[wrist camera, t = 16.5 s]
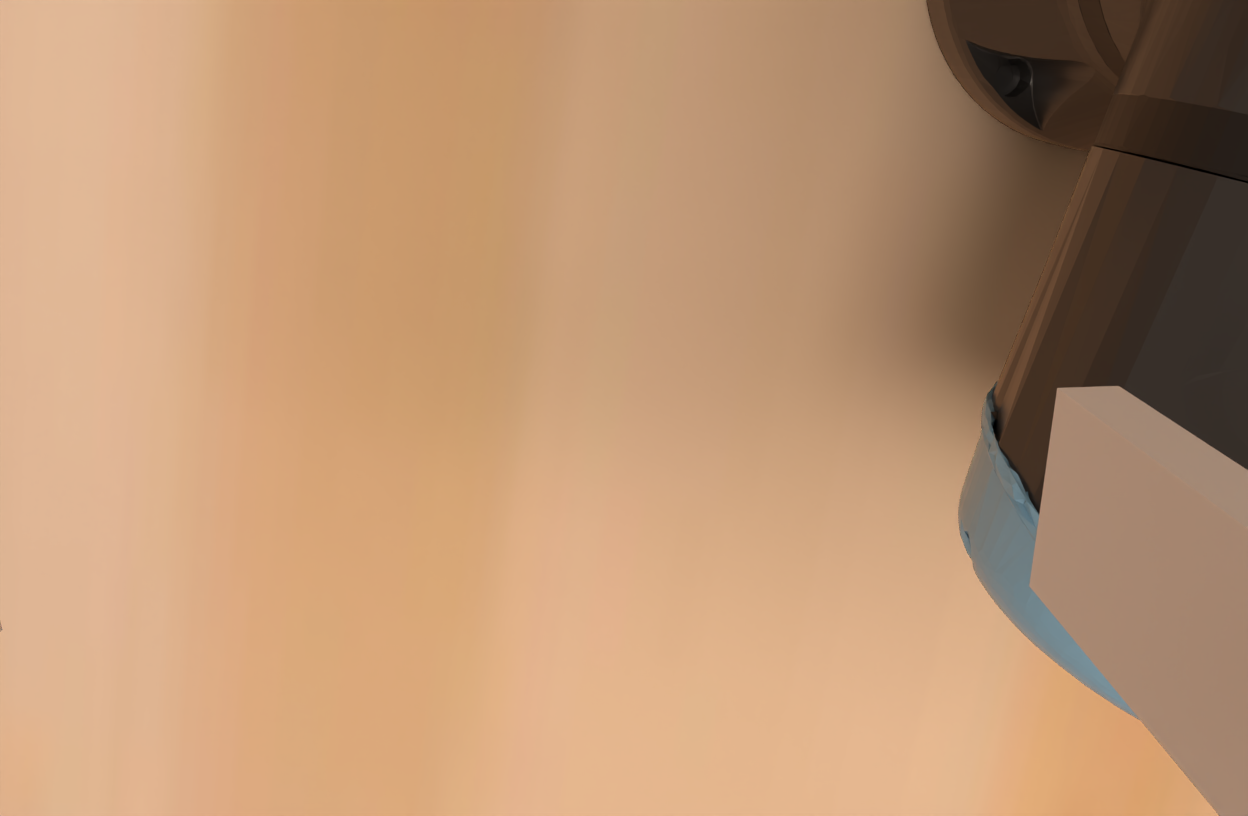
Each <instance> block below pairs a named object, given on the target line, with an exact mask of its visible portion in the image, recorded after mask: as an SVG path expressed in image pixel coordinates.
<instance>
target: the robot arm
mask: <svg viewBox="0 0 1248 816" xmlns="http://www.w3.org/2000/svg"><path fill="white" fill-rule="evenodd" d="M927 4H928V10H929V14H930V18H931V23H932V26H933V29H934V32H935V36H936V39H937V41H938V44H939V46H940V49H941V51H942V53H943V55H944V57H945V59H946V61H947V63H948V65H949V67H950V68H951V70H952V72H953V73H954V75H955V77H956V78H957V80H958V81H959V82H960V84H961V85H962V86H963V88H964V89H965V90H966V91H967V93H968V94H969V95H970V96H971V97H972V98H973V99H974V100H975V101H976V102H977V103H978V104H979V105H980V106H981V107H982V108H983V109H984V110H985V111H987V112H988V113H989V114H990V115H991V116H993V117H994V118H996V119H997V120H999V121H1000V122H1001V123H1003V124H1005V125H1006V126H1008V127H1010V128H1012V129H1013V130H1015V131H1017V132H1020V133H1022V134H1024V135H1026V136H1029V137H1031V138H1034V139H1037V140H1040V141H1044V142H1047V143H1051V144H1055V145H1060V146H1064V147H1068V148H1072V149H1078V150H1083V151H1089V154H1088V156H1087V159H1086V162H1085V164H1084V167H1083V169H1082V172H1081V174H1080V177H1079V180H1078V182H1077V185H1076V187H1075V190H1074V193H1073V195H1072V198H1071V200H1070V203H1069V205H1068V208H1067V211H1066V213H1065V216H1064V218H1063V221H1062V224H1061V226H1060V229H1059V231H1058V234H1057V237H1056V239H1055V242H1054V244H1053V247H1052V249H1051V252H1050V255H1049V257H1048V260H1047V262H1046V265H1045V268H1044V270H1043V273H1042V275H1041V277H1040V280H1039V282H1038V285H1037V287H1036V290H1035V292H1034V295H1033V297H1032V300H1031V302H1030V304H1029V307H1028V309H1027V312H1026V314H1025V317H1024V319H1023V322H1022V324H1021V327H1020V329H1019V331H1018V334H1017V336H1016V339H1015V341H1014V344H1013V346H1012V349H1011V351H1010V354H1009V356H1008V358H1007V361H1006V363H1005V366H1004V368H1003V371H1002V373H1001V376H1000V378H999V381H997V382H996V383H995V385H994V386H993V388H992V389H991V391H990V392H989V393H988V394H987V397H986V399H985V401H984V404H983V408H982V418H981V428H982V431H981V435H980V438H979V441H978V444H977V447H976V450H975V453H974V456H973V459H972V462H971V465H970V468H969V471H968V474H967V477H966V479H965V482H964V485H963V489H962V492H961V496H960V501H959V509H958V519H959V529H960V535H961V538H962V540H963V543H964V546H965V548H966V551H967V553H968V555H969V556H970V558H971V559H972V562H973V568H974V571H975V573H976V575H977V577H978V579H979V580H980V582H981V583H982V585H983V586H984V588H985V589H986V591H987V592H988V594H989V595H990V596H991V598H992V599H993V600H994V602H995V603H996V604H997V605H998V607H999V608H1000V609H1001V610H1002V611H1003V613H1004V614H1005V615H1006V616H1007V617H1008V618H1009V619H1010V620H1011V621H1012V623H1013V624H1014V625H1015V626H1016V627H1017V628H1018V629H1019V630H1020V631H1021V632H1022V633H1023V634H1024V635H1025V636H1026V637H1027V638H1028V639H1029V640H1030V641H1031V642H1032V643H1033V644H1035V645H1036V646H1037V647H1038V648H1039V649H1040V650H1041V651H1043V652H1044V653H1045V654H1046V655H1047V656H1049V657H1050V658H1051V659H1052V660H1053V661H1055V662H1056V663H1057V664H1058V665H1059V666H1061V667H1062V668H1063V669H1065V670H1066V671H1067V672H1068V673H1070V674H1071V675H1072V676H1074V677H1075V678H1076V679H1078V680H1079V681H1080V682H1081V683H1083V684H1084V685H1085V686H1087V687H1088V688H1090V689H1091V690H1093V691H1094V692H1096V693H1097V694H1099V695H1100V696H1102V697H1103V698H1105V699H1106V700H1108V701H1109V702H1111V703H1112V704H1114V705H1115V706H1117V707H1118V708H1120V709H1122V710H1123V711H1125V712H1127V713H1128V714H1130V715H1132V716H1133V717H1135V718H1137V719H1139V720H1141V722H1142V723H1143V724H1144V725H1145V726H1146V728H1147V729H1148V730H1149V731H1150V732H1151V734H1152V735H1153V736H1154V737H1155V739H1156V740H1157V741H1158V742H1159V743H1160V745H1161V746H1162V747H1163V748H1164V749H1165V751H1166V752H1167V753H1168V754H1169V755H1170V757H1171V758H1172V759H1173V760H1174V761H1175V763H1176V764H1177V765H1178V766H1179V767H1180V769H1181V770H1182V771H1183V772H1184V774H1185V775H1186V776H1187V777H1188V778H1189V780H1190V781H1191V782H1192V783H1193V784H1194V786H1195V787H1196V788H1197V789H1198V790H1199V792H1200V793H1201V794H1202V795H1203V796H1204V798H1205V799H1206V800H1207V801H1208V803H1209V804H1210V805H1211V806H1212V807H1213V809H1214V810H1215V811H1216V812H1217V813H1218V815H1219V816H1248V0H927ZM1 631H2V626H1V622H0V632H1Z"/></svg>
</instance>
